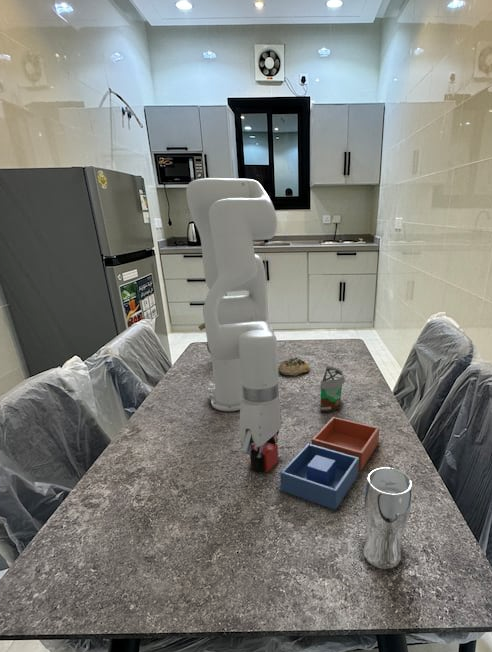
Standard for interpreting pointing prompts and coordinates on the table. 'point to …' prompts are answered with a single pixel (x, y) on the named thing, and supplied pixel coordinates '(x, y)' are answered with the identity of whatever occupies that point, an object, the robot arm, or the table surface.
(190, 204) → the robot arm
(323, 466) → the blue block
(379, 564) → the beer glass
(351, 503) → the table surface
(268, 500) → the table surface
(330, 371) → the food container
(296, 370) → the bread roll
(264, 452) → the red block
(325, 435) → the red bin
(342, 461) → the blue bin
